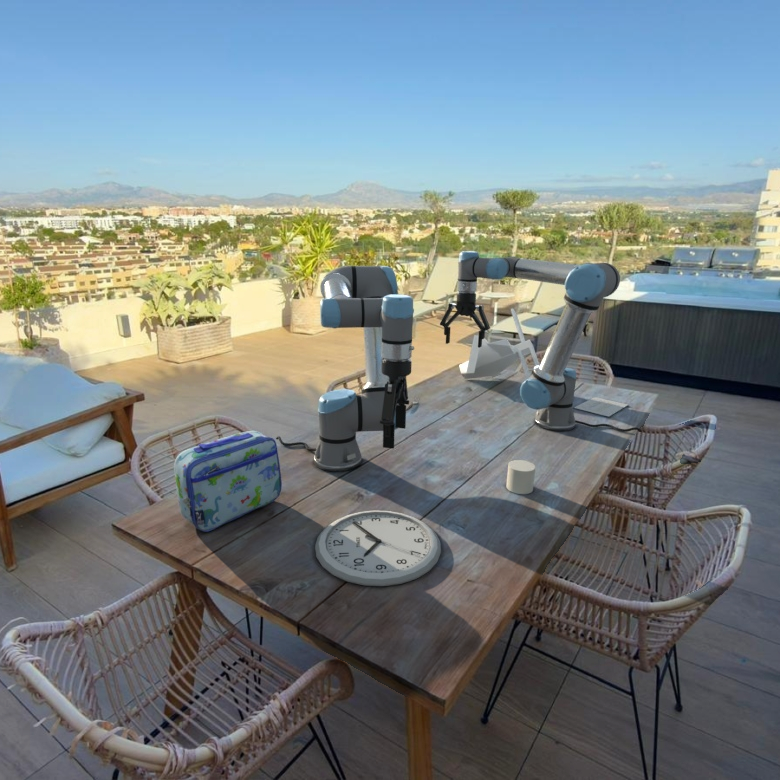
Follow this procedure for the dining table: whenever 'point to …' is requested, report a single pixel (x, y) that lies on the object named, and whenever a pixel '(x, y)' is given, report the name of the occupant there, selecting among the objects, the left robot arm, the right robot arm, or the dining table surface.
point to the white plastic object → (497, 355)
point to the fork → (413, 403)
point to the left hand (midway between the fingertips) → (394, 437)
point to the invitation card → (601, 406)
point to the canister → (520, 476)
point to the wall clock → (378, 548)
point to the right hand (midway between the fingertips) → (463, 345)
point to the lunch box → (227, 478)
